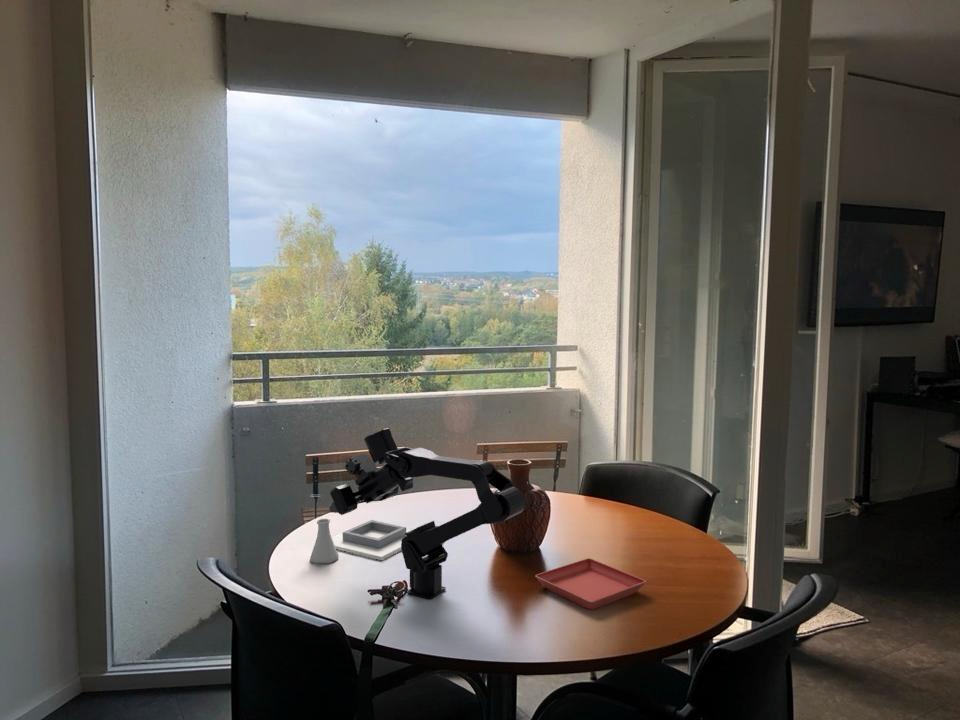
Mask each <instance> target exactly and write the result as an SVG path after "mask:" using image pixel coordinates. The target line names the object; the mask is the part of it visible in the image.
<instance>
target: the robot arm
mask: <svg viewBox="0 0 960 720" xmlns="http://www.w3.org/2000/svg"><path fill="white" fill-rule="evenodd" d="M392 435H393V434H392V432H391V429H390V427H386V428H382V429H381V430H379V431H377V432H374V433H373V434H368V435H367V436H365V438H364V439H363V442H364V444H365V446H366V448H367V450H368V452H369V455H370V456H369V455H368V454H366V453H364V452H363V453H359V454H355V455H352V457H349V459H348V460H346V461H345V465H344V469H345V470H346V471H347V472H348V473H349V475H351V476H352V475H354V477H356V479H355V480H354V482H355V484H356V486H358V487H357V489H358V491H355V492H353V489H352V487H351V485H349V484H347V483H345V484H341V485H338V486H335V487H334V488H332V489H331V490H330V492H329V494H330V496H331V498H332V500H333V502H332V503H331V504H330V506H329V508H328V510H329V512H330V513H333V514H334V513H335V514H339V515H341V516H343V515H346V514H348V513H352V512H353V511H356V509H358V506H359V505H358V504H361V503H363V504H364V503H366V504H369V503H372V502H374V503H375V502H381V501H384V500H385V501H386V500H387V499H390V498H394V497H395V496H396V495H398V494H399V490H401V492H405V491H408V490H411V489H413V488H414V483H413V482H414V478H419V477H425V476H426V477H427V476H434V477H442V478H448V479H453V480H454V479H455V480H461V481H470V482H471V483H472V484H473V485H474V488H475V489H474V490H475V491H476V495H477V498H478V500H479V502H480V503H479V505H477V507H476V508H474V509H472V510H470V511H468V512H466V513H464V514H462V515H459V516H457V517H455V518H454V519H450V520H449V521H446V522H445V523H443V524H440V525H436V524H435V520H432V521H429V522H427V523H424V524H421V525H420V526H417V527H415V528H413V529H412V530H411V529H410V530H411V531H409V532H406V533H405V535H406V536H405V537H404V538H403V539H402V540H401V542H402V543H401V549H402V550H401V553H402V558H403V561H404V564H405V568H406V569H407V570H409V589H407V590H406V594H408V595H412V596H415V597H420V598H423V599H426V600H432V599H433V598H435V597H437V596H439V595H440V594H442V592H445V591H446V589H447V588H446V586H443V579H442V578H443V576H442V575H443V572H442V570H443V569H442V568H443V565H442V563H446V561H447V559H448V556H449V553H448V552H447V550H446V548H445V547H444V544H445V543H446V542H447V541H449V540H452V539H454V538H456V537H458V536H460V535H462V534H463V535H464V534H465V533H467V532H469V531H471V530H473V529H476V528H478V527H480V526H482V525H492V524H498V523H502V522H505V521H506V520H509V519H511V518H514V517H515V516H517V515H519V514H521V513H522V512H524V510H525V509H526V508H525V506H526V499H525V495H524V494H523V492H522V491H521V490H520V489H518V488H517V487H516V485H515V484H514V483H513V481H512V480H511V479H510V478H508V477H507V476H506V475H504V474H503V473H502V472H500V471H498V469H497V468H496V467H495V465H493V463H491V461H487V460H481V461H480V460H472V459H465V458H458V457H449V456H442V455H438V454H436V453H435V452H433V451H432V450H429V449H426V448H425V447H424V448H423V447H415V448H411V447H408V446H403V447H400V448H398V446H397V444H396V442H395V440H394V437H393V436H392ZM376 463H378V465H382V464H384V465H382V466H381V467H380V468H378V467H377V465H376ZM385 463H386V464H385ZM491 486H492V487H493V488H494V489H496V490H497V491H498V492H495V493H494V491H493V490H492V489H491ZM399 488H400V489H399Z"/></svg>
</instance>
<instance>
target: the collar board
mask: <svg viewBox="0 0 960 720" xmlns="http://www.w3.org/2000/svg"><path fill="white" fill-rule="evenodd" d="M409 531H411V529H407V527H406V526H401V525H396V524H391V523H387V522H382V521H379V520H378V521H377V520H374V519H370V520H368V521H365V522H363V523H360V524H358V525H356V526H354V527H352V528H349V529H347V530H344V531H343V532H341V533H339V534H337V535H334V536H331V537H332V540H333V543H334V545H335V548H336V549H338V550H337V551H340V550H342V551H341V552H344V551H347V552H346V553H348V552H351V553H350V554H352V553H355V554H354V555H356V554H359V555H358V556H360V555H362V556H361V557H364V556H366V557H365V558H368V557H370V558H369V559H372V558H374V559H373V560H376V559H378V560H377V561H380V560H382V561H384V560H386V559H388V558H390V557H391V555H392V556H394V555H396V554H398V553H399V552H402V549H401V543H402V542H401V540H402V539H403V538H404V537H405V536H406V535H405V533H406V532H409ZM397 552H398V553H397ZM395 553H396V554H395ZM393 554H394V555H393ZM389 556H390V557H389ZM387 557H388V558H387ZM385 558H386V559H385ZM383 559H384V560H383Z"/></svg>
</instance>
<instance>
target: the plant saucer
mask: <svg viewBox="0 0 960 720" xmlns="http://www.w3.org/2000/svg"><path fill="white" fill-rule="evenodd" d="M535 579H537V580H538V582H539V583H540V584H541V585H542V586H543V587H544V588H545V589H546V588H547V589H546V590H549V591H551V592H553V593H555V594H557V595H559V596H561V597H563V598H565V599H567V600H570V601H571V602H573V603H575V604H578V605H580V606H581V607H583V608H586V609H587V610H595V609H597V608H600V607H602V606H604V605H607V604H611V603H614V602H615V601H618V600H620V599H623V598H626V597H628V596H631V595H634V594H635V593H637V592H638V591H639V590H640V589H641V588H642V587H643V586H644V585H645V584H646V582H647V581H646V579H643V578H640V577H638V576H635V575H633V574H631V573H628V572H626V571H623V570H621V569H618V568H616V567H613V566H611V565H608V564H606V563H603V562H601V561H599V560H595V559H594V558H591V557H589V558H584V559H581V560H578V561H575V562H571V563H568V564H565V565H562V566H559V567H557V568H553V569H548V570H546V571H544V572H540V573H538V574H535Z"/></svg>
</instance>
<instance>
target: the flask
mask: <svg viewBox="0 0 960 720" xmlns="http://www.w3.org/2000/svg"><path fill="white" fill-rule="evenodd" d="M330 522H331V519H329V518H320V519H319V518H318V519H317V520H316V523H317V525H318V528H317V529H318V530H317V536H316V539H315V543H314V545H313V548H312V552H311V555H310V556H309V557H310V558H309V562H311V563H314V564H331V563H332V562H335V561H338V559H339V552H338V550H336V548H335V545H334V543H333V540H332V537H333V536H332V535H331V531H330Z"/></svg>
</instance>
